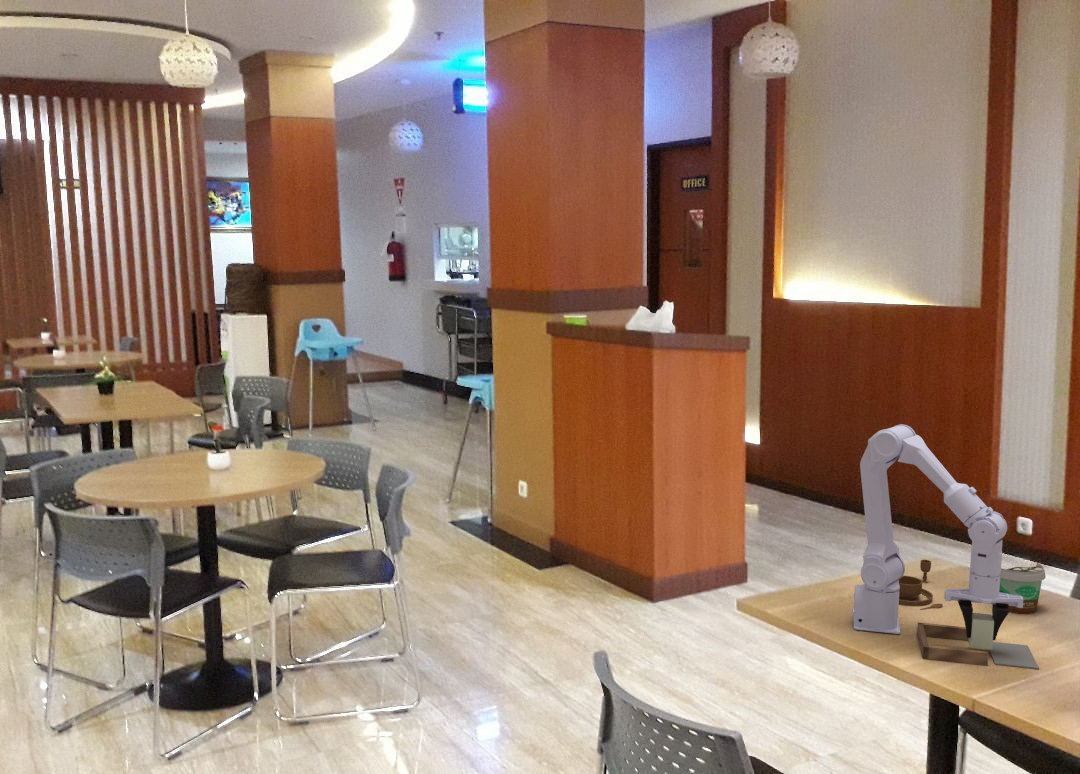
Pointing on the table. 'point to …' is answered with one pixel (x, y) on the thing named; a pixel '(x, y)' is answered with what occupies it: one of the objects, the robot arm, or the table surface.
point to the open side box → (946, 652)
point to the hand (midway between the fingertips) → (980, 637)
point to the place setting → (916, 588)
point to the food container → (1023, 586)
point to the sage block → (981, 631)
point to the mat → (1012, 655)
